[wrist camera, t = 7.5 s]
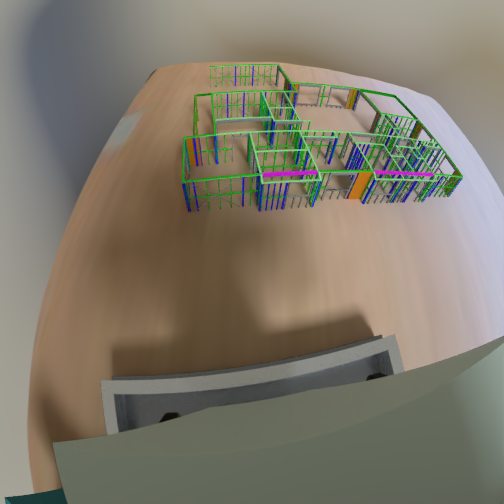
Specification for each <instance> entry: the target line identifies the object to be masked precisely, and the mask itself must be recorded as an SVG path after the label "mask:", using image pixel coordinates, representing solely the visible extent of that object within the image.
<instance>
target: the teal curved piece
mask: <svg viewBox="0 0 504 504" xmlns="http://www.w3.org/2000/svg"><path fill="white" fill-rule="evenodd" d="M5 503H6V504H68V503H67V500H66V497H65V494H64V490H63V488H62V489H57V490H52V491H47V492H42V493H36V494H30V495H23V496H13V497H5Z"/></svg>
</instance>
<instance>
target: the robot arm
mask: <svg viewBox="0 0 504 504" xmlns="http://www.w3.org/2000/svg"><path fill="white" fill-rule="evenodd" d="M386 376H388V375H386V374H383V373H381V372H376V373H373V374H370V375H368V376H367V379H366V381H368V380H373V379H377V378H381V377H386ZM179 417H181V416H180V414H179V413H178V412H167V413H165V414H164V416H163V417H162V418H161V420H160V421H159V423H161V422H165V421H168V420H172V419H175V418H179Z"/></svg>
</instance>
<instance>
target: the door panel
mask: <svg viewBox="0 0 504 504" xmlns="http://www.w3.org/2000/svg"><path fill="white" fill-rule="evenodd" d="M53 449H54V454H55V459H56V463H57V468H58V472H59V476H60V480H61V483H62V487H63V490H64V494H65V497H66V500H67V503H68V504H504V336H502V337H500V338H498V339H496V340H494V341H491V342H489V343H487V344H484V345H482V346H480V347H477V348H475V349H472V350H470V351H467V352H465V353H462V354H459V355H456V356H454V357H451V358H448V359H445V360H442V361H439V362H436V363H433V364H430V365H427V366H423V367H420V368H416V369H413V370H409V371H406V372H402V373H398V374H394V375H390V376H386V377H381V378H377V379H373V380H368V381H363V382H358V383H352V384H347V385H341V386H335V387H328V388H321V389H314V390H308V391H304V392H300V393H295V394H291V395H286V396H281V397H276V398H271V399H266V400H260V401H254V402H248V403H241V404H234V405H226V406H217V407H209V408H206V409H203V410H200V411H197V412H194V413H191V414H188V415H185V416H182V417H179V418H175V419H172V420H168V421H165V422H161V423H157V424H154V425H150V426H146V427H142V428H138V429H133V430H129V431H125V432H120V433H115V434H110V435H105V436H99V437H93V438H87V439H80V440H72V441H63V442H53Z"/></svg>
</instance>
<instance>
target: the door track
mask: <svg viewBox="0 0 504 504" xmlns="http://www.w3.org/2000/svg"><path fill="white" fill-rule="evenodd" d="M376 372H381V373H383V374H386V375H388V376H390V375H394V374H398V373H402V372H405V371H404V367H403V363H402V359H401V355H400V351H399V347H398V344H397V340H396V337H395V334H394V335H391V336H388V337H385V338H382V335H379V336H375V337H372V338H369V339H365V340H362V341H358V342H355V343H351V344H348V345H344V346H340V347H336V348H332V349H328V350H324V351H320V352H316V353H312V354H307V355H303V356H298V357H293V358H288V359H283V360H278V361H273V362H267V363H262V364H256V365H249V366H243V367H236V368H229V369H221V370H213V371H204V372H194V373H182V374H169V375H151V376H112V380H101V390H102V400H103V409H104V417H105V424H106V431H107V435H110V434H115V433H120V432H125V431H129V430H133V429H138V428H142V427H146V426H150V425H154V424H157V423H159V421H160V420H161V418H162V417H163V416H164V414H165V413H167V412H178V413H179V414H180V416H181V417H182V416H185V415H188V414H191V413H194V412H197V411H200V410H203V409H206V408H209V407H217V406H226V405H234V404H241V403H248V402H254V401H260V400H266V399H271V398H276V397H281V396H286V395H291V394H295V393H300V392H304V391H308V390H314V389H321V388H328V387H335V386H341V385H347V384H352V383H358V382H363V381H366V379H367V376H368V375H370V374H373V373H376Z"/></svg>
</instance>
